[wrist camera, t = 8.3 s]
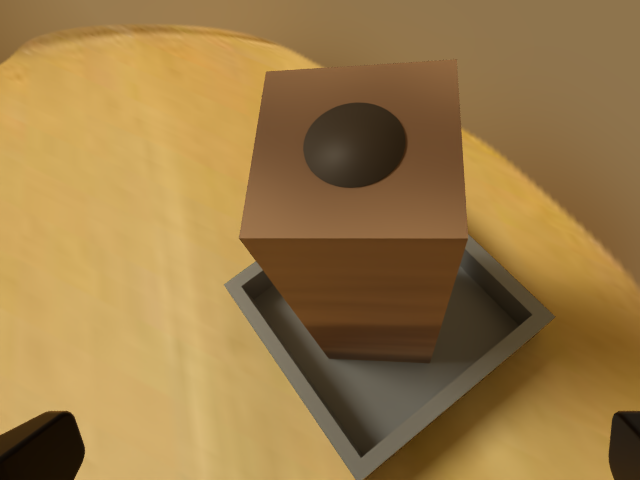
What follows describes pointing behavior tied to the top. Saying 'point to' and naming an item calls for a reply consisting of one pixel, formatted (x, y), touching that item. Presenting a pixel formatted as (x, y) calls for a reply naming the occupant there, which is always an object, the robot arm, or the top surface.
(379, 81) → the tall block
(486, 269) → the tray
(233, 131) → the top surface
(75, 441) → the robot arm
